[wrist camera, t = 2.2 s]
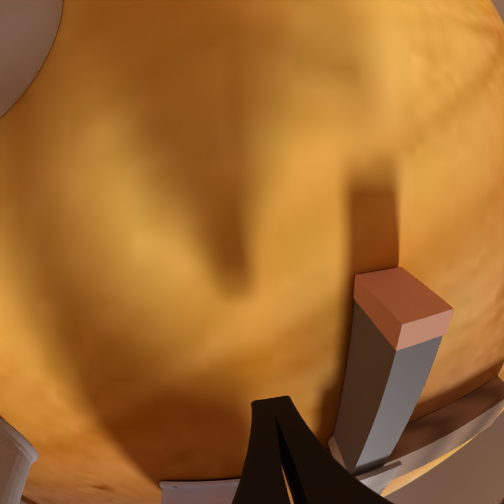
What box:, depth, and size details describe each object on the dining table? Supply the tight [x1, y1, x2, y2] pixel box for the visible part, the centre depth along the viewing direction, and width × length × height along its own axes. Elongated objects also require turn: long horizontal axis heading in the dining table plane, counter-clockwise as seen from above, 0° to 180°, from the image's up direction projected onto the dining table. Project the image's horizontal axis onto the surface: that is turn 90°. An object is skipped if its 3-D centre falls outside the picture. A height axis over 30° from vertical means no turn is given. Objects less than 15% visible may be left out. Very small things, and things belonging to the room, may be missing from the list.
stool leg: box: [328, 267, 454, 477], centre depth 14 cm, size 15×3×4 cm, turn 5°
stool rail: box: [327, 376, 504, 495], centre depth 17 cm, size 22×10×5 cm, turn 95°
